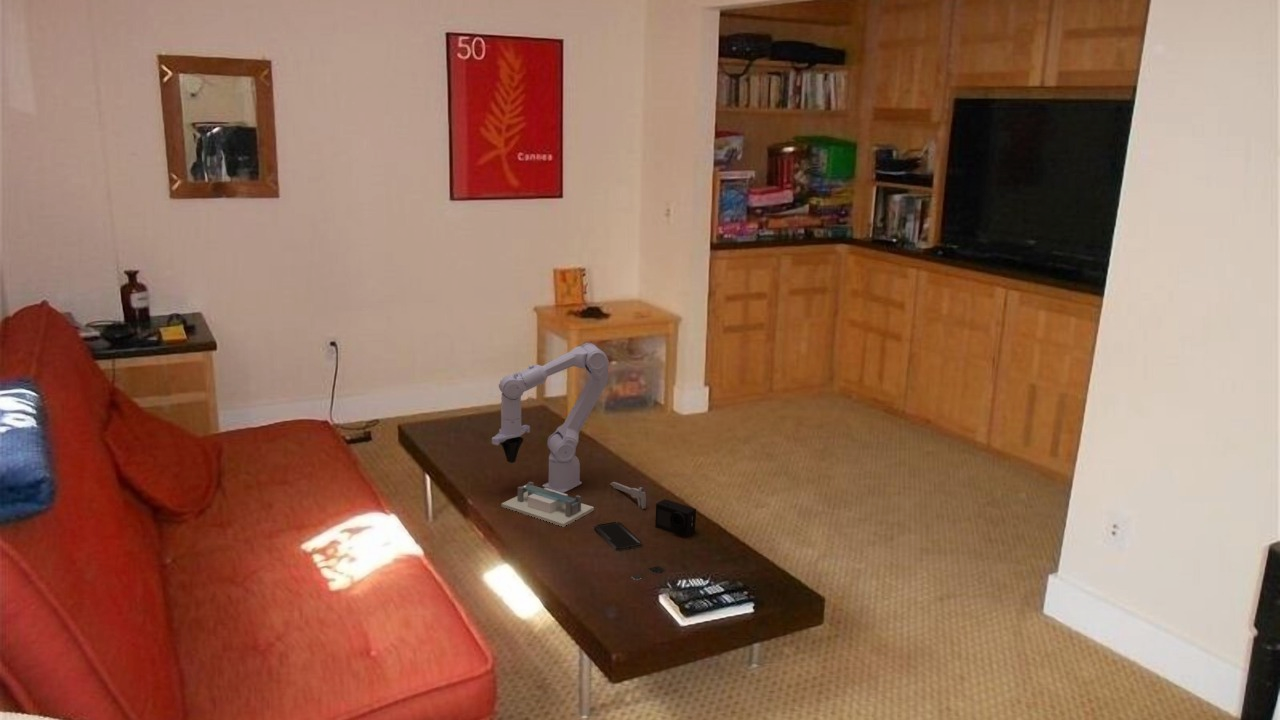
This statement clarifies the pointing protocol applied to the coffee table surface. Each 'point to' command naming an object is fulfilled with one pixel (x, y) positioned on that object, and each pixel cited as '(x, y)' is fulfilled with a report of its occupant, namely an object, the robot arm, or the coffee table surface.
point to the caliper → (633, 493)
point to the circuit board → (654, 570)
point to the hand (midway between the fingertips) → (511, 461)
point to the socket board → (543, 515)
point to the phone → (617, 536)
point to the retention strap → (548, 494)
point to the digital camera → (675, 518)
